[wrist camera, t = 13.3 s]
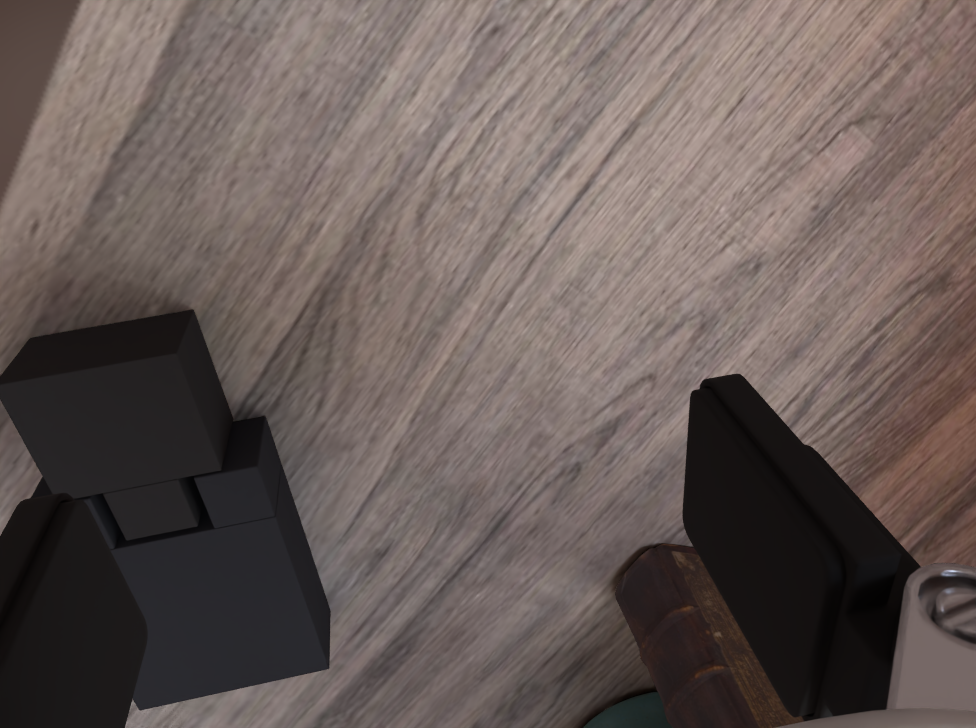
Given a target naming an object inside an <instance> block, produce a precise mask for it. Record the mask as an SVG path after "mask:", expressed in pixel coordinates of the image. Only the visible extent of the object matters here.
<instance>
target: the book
mask: <svg viewBox="0 0 976 728" xmlns="http://www.w3.org/2000/svg"><path fill="white" fill-rule="evenodd" d="M615 596H616V600H617V602H618V604H619V606H620V608H621V610H622V612H623V614H624V617H625V619H626V621H627V623H628V625H629V627H630V629H631V632H632V634H633V636H634V638H635V641H636V643H637V645H638V647H639V651H640V657H641V660H642V661H643V663H644V664H645V665H646V666H647V668H648V670H649V672H650V675H651V677H652V679H653V682H654V684H655V686H656V689H657V691H658V693H659V696H660V698H661V700H662V703H663V707H664V712H665V715H666V718H667V721H668V723H669V724H670V725H671V726H672V727H673V728H776V727H780V726H785V725H790V724H795V723H800V722H805V721H804V720H803V718H802V716H800V717H793V716H791V715H790V714H789V713H788V711H787V710H786V708H785V707H784V705H783V703H782V702H781V700H780V698H779V696H778V695H777V693H776V691H775V689H774V688H773V686H772V684H771V682H770V681H769V679H768V677H767V675H766V673H765V672H764V670H763V668H762V666H761V665H760V663H759V661H758V659H757V658H756V656H755V654H754V652H753V650H752V649H751V647H750V645H749V643H748V642H747V640H746V638H745V636H744V635H743V633H742V631H741V629H740V628H739V626H738V624H737V622H736V620H735V619H734V617H733V615H732V613H731V612H730V610H729V608H728V606H727V605H726V603H725V601H724V599H723V598H722V596H721V594H720V592H719V590H718V589H717V587H716V585H715V583H714V582H713V580H712V578H711V576H710V575H709V573H708V571H707V569H706V568H705V566H704V564H703V562H702V560H701V559H700V557H699V555H698V553H697V552H696V550H695V548H690V547H685V546H679V545H671V544H661V545H660V546H658V547H656V548H650V549H649V550H648V551H646V552H645V553H644V554H642V555H641V556H640V557H639V558H638V559H637V560H636V561H635V562H634V563H633V564H632V565H631V566H630V568H629V569H628V570H627V571H626V572H625V574H624V575H623V577H622V579H621V580H620V582H619V583H618V585H617V587H616V592H615Z"/></svg>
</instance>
